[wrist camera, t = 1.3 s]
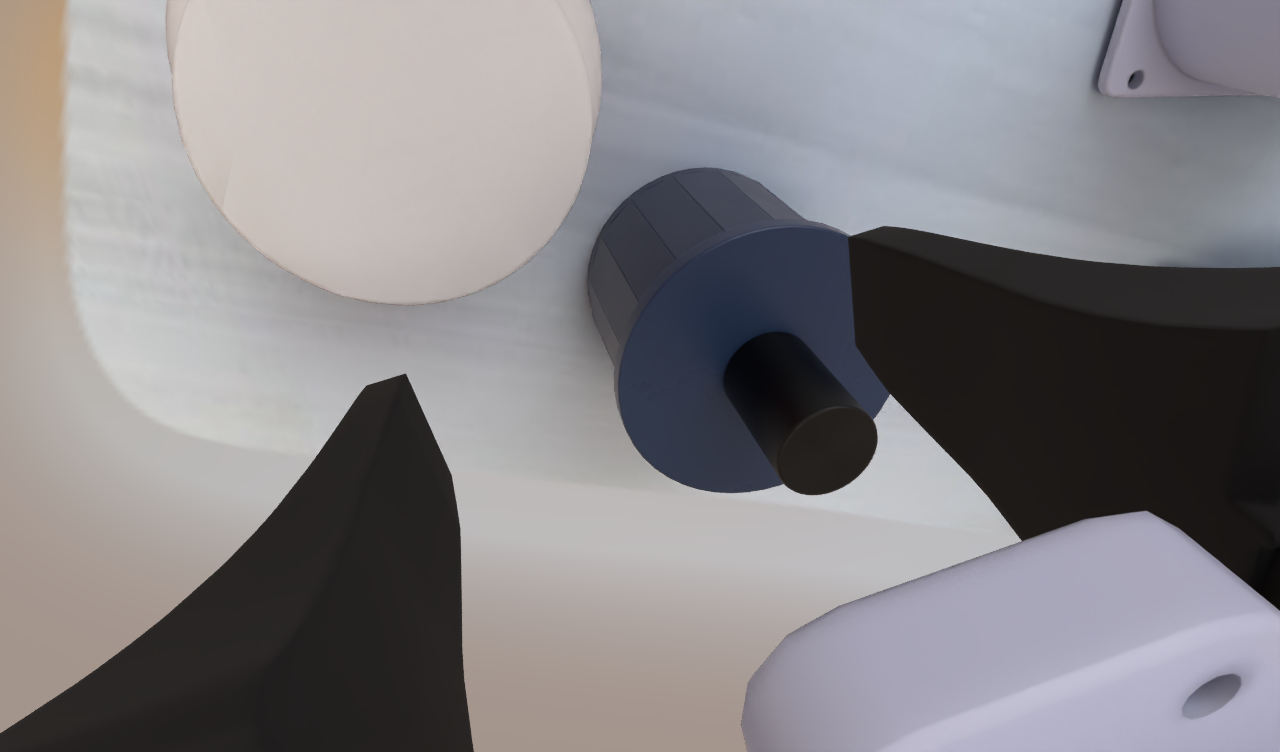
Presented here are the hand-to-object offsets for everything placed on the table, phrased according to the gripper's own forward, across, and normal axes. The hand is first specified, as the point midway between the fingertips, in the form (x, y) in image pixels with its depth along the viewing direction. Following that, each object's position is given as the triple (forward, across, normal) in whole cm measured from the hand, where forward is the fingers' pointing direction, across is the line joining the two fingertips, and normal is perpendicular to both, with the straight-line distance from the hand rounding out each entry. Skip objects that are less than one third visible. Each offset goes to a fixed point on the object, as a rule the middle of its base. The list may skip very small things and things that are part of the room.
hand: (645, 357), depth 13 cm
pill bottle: (+10, +2, -4) cm, 12 cm away
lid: (+5, -3, +4) cm, 7 cm away
